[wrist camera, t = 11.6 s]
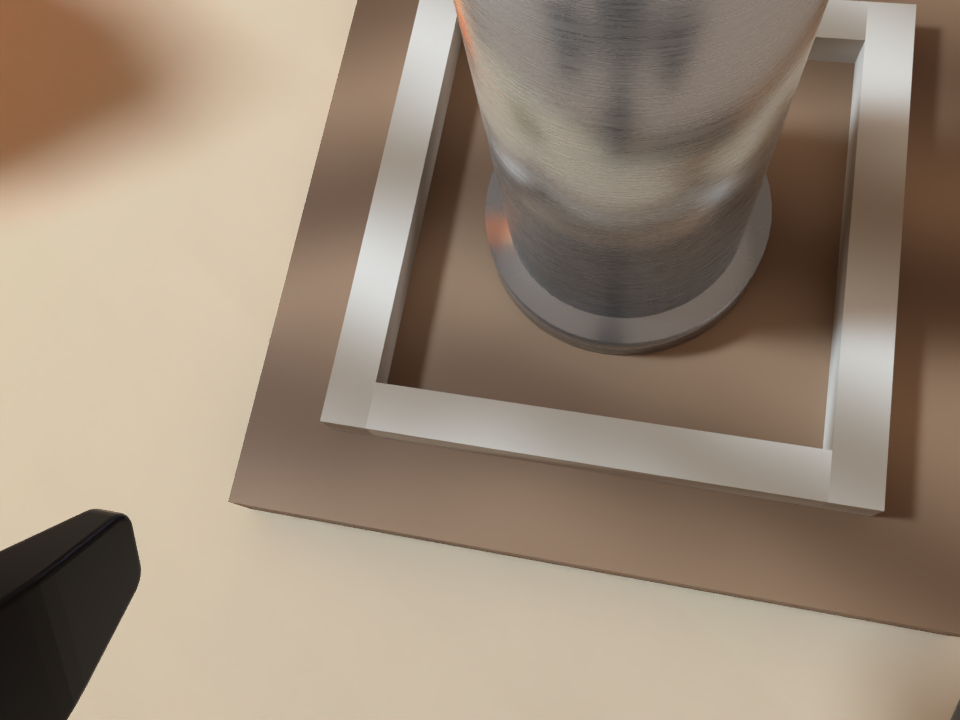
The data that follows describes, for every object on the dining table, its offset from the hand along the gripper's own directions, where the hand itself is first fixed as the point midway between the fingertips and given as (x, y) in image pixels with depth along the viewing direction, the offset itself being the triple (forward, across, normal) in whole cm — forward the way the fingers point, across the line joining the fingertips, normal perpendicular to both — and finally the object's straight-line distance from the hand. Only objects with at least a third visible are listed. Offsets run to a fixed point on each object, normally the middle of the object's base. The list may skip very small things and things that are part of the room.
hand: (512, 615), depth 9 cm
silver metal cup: (+16, 0, +1) cm, 16 cm away
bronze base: (+17, 0, +2) cm, 17 cm away
